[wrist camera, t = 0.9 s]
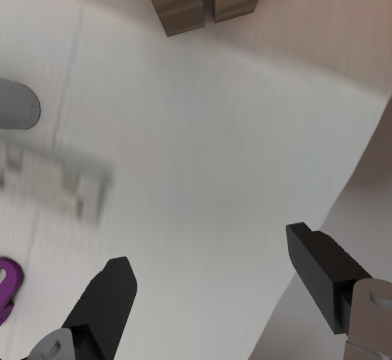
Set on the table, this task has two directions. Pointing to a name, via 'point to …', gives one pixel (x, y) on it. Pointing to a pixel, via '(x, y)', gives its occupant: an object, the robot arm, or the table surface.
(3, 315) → the mounting bracket
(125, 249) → the table surface
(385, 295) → the robot arm
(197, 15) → the step stand
